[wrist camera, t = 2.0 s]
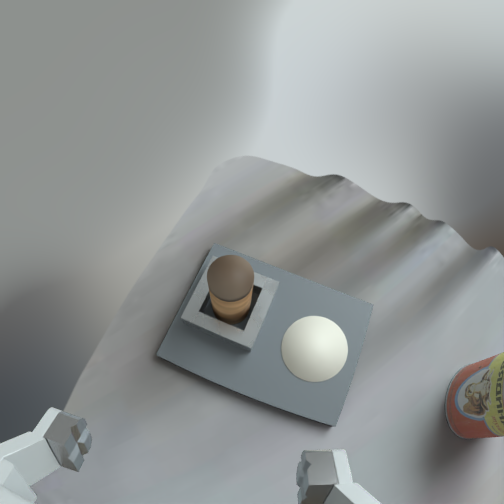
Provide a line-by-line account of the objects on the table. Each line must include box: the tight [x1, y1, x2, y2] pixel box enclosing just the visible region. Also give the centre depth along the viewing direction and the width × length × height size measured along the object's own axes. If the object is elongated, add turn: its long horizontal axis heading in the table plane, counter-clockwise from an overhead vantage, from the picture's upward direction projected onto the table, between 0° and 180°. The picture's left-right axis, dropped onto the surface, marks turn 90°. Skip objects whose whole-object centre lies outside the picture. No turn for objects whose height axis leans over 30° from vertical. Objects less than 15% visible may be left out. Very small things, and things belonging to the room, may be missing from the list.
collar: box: [181, 256, 279, 352], centre depth 37 cm, size 8×8×2 cm
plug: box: [207, 255, 254, 324], centre depth 34 cm, size 4×4×9 cm
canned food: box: [445, 352, 504, 439], centre depth 28 cm, size 11×11×12 cm
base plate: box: [156, 243, 373, 427], centre depth 37 cm, size 16×22×1 cm
